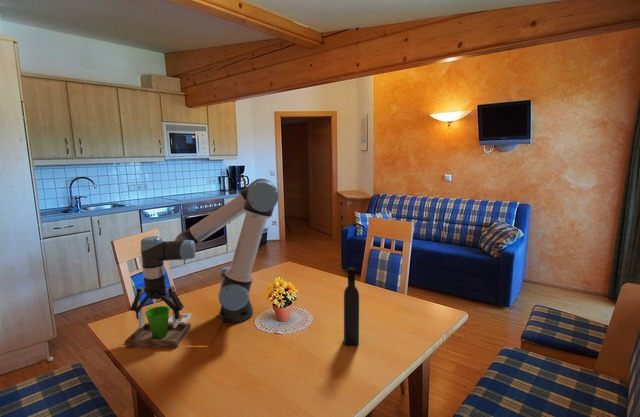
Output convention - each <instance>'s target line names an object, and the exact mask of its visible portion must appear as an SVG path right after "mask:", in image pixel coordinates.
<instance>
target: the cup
mask: <svg viewBox="0 0 640 417" xmlns="http://www.w3.org/2000/svg"><path fill="white" fill-rule="evenodd" d="M170 310H171V308H170V307H169V306H168V305H157V306H153V307H150V308H148V309H147V310H146V311H145V313H144V315H145V316H146V319H147V320H148V322H147V323H149V325H150V329H151V332H152V336H153V338H154V339H162V338H164V337H166V335H167V329H168V319H169V318H170V317H169V316H170Z"/></svg>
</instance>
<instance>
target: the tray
mask: <svg viewBox="0 0 640 417" xmlns="http://www.w3.org/2000/svg"><path fill="white" fill-rule="evenodd" d="M191 329H192V324H191V322H186V323H178V325H177V326H176V328H173V323H168V329H167V335H166V337H164V338H162V339H154V338H153V336H152V332H151V329H150V325H149V322H145V325H144V326H143V327H142V328H139V327H138V328H137V329H136V330H135V331H134V332H133V333H132V334H130V336H128V338H126V339H125V340H124V347H125V348H128V349H130V348H131V349H132V348H133V349H135V348H138V349H140V348H142V349H143V348H145V349H146V348H148V349H150V348H151V349H153V348H155V349H156V348H158V349H161V348H167V349H169V348H172V349H173V348H175V349H176V348H178V347H179V345H180V343H181V342H182V341H183V340H184V338H185V337H186V336H187V334H188V333H189V332H190V331H191Z"/></svg>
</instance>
